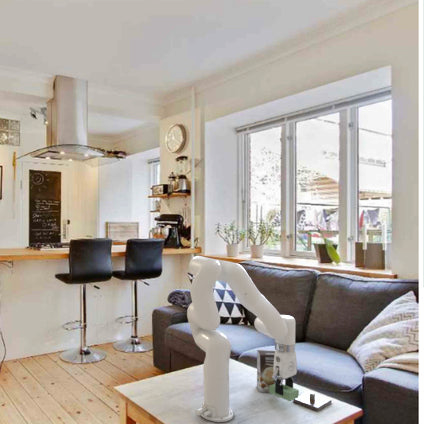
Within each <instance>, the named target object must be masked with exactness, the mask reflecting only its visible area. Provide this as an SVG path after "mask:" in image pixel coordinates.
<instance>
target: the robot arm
mask: <svg viewBox="0 0 424 424" xmlns="http://www.w3.org/2000/svg"><path fill="white" fill-rule="evenodd" d="M188 270H189V272H190V274H191V275H193V276H194V277H193V280H192V281H191V284H190V289H189V294H190V299H191V302H190V304H189V305H188V306H187V311H186V317H187V322H188V325H189V329H190V332H191V334H192V338H193V340H194V343H195V345H196V346H197V347H198V348H199V349H200V350H201V351H203V352H204V353H205V357H204V361H203V366H202V367H203V369H202V370H203V403H202V404H201V407H200V408H198V409H196V410H195V415H196V416H201V417H202V418H203V419H204V420H207V421H210V422H215V423H225V422H229V421H231V420H232V419H233V418H234V410H233V409H231V407H230V358H231V352H232V344H231V341H230V339H229V338H228V336H226V335H225V334H224V333H223V332H221V331H220V330H217V329H218V328H219V327H220V324H221V315H220V313H219V308H218V305H217V302H216V298H215V295H214V294H215V293H214V287H215V284H216V283H217V281H218V282H223V283H226V284H227V285H228V287H229V288H230V290H231V291H232V293H233V294H234V296H235V297H236V299H237V300H238V302H239V304H240V305H242V306H243V307H244V308H245V309H246V310H247V311H248V312H250V313H252V314H253V315H254V316H256V318H255V319H254V323H253V325H254V328H255V329H256V331H257V332H259V333H260V334H263V335H265V336H267V337H268V338H270V339H273V340H274V351H275V356H274V373H273V375H272V378H273V379H274V381H275V393H277V394H279V395H283V385H282V384H284V385H286V386H289V387H292V388H294V380H295V376H296V375H297V373H298V360H297V353H296V319H295V318H294V316H291V315H287V314H281V313H280V312H279V311H278V310H277V309H276V307H275V306H274V305H272V303H271V302H270V301H269V300H268V299H267V298H266V297H265V296H264V295H263V294H262V293H261V292H260V290H259V289H258V288H257V286H256V284H255V283H254V282H253V280H252V278H251V276H249V274H248V272H247V270H246V269H245V268H244V267H243V266H242V265H241V264H239V263H237V262H233V261H228V260H222V259H216V258H212V257H207V256H202V255H197V256H193V258H192V259H191V260H190V261H189V264H188ZM279 375H280V376H279ZM278 377H279V378H281V380H279V379H278Z"/></svg>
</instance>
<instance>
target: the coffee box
mask: <svg viewBox="0 0 424 424" xmlns="http://www.w3.org/2000/svg"><path fill="white" fill-rule="evenodd" d="M256 351H257V353H256V355H257V357H256V387H257V389H258V391H259V392H260V393H269V386H270V385H273V384H275V381H274V379H273V378H272V375H273V373H274V356H275V351H276V350H261V349H257V350H256ZM279 376H280V375H279ZM278 379H279V380H281V378H279V377H278Z"/></svg>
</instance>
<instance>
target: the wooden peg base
mask: <svg viewBox="0 0 424 424" xmlns="http://www.w3.org/2000/svg"><path fill="white" fill-rule="evenodd" d="M293 403H294V404H297V405H299V406H302V407H304V408H307V409H309V410H312V411H315V412H320V411H321V410H323V409H325V408H326V407H328V406H330V405H331V404H332V399H331V398H328V397H326V396H322V395H320V394H316V392H313V391H305V392H303V393H301V394H300V395H299V396H298V398H296V399H294V400H293Z"/></svg>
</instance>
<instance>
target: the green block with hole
mask: <svg viewBox="0 0 424 424" xmlns="http://www.w3.org/2000/svg"><path fill="white" fill-rule="evenodd" d="M282 385H283V395H279V394H277V393H275V384H273V385H270V386H269V392H268V393H269V394H270V395H274V396H276V397H278V398H281V399H283V400H285V401H288V402H291V401H294V399H296V398H298V396H300V395H299V392H300V390H299V389H297V388H294V387H293V388H292V387H289V386H286V385H285V383H283V384H282Z"/></svg>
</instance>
